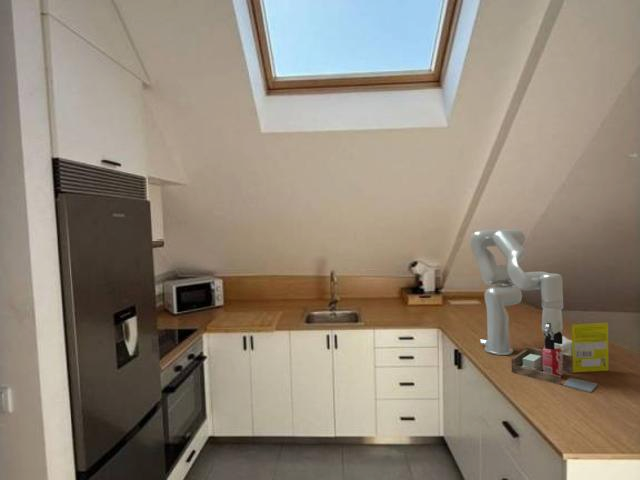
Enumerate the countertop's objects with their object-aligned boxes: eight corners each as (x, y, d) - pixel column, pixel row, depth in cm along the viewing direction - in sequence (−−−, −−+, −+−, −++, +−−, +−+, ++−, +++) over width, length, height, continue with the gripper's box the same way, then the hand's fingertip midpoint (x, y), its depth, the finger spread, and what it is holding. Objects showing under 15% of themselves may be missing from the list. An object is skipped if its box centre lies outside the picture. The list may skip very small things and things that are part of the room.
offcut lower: (521, 373, 160) (521, 366, 160) (530, 367, 166) (529, 360, 166) (534, 376, 156) (534, 369, 156) (542, 370, 162) (542, 363, 162)
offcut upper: (522, 365, 160) (522, 358, 160) (530, 360, 165) (530, 353, 165) (534, 368, 157) (533, 361, 157) (541, 363, 162) (541, 356, 162)
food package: (607, 370, 159) (607, 322, 158) (609, 371, 158) (609, 323, 157) (571, 371, 158) (570, 324, 157) (573, 373, 157) (572, 325, 156)
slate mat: (562, 385, 146) (562, 384, 146) (570, 378, 152) (570, 377, 152) (590, 392, 139) (590, 391, 139) (597, 385, 145) (597, 383, 145)
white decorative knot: (575, 354, 178) (575, 335, 177) (581, 363, 167) (581, 343, 166) (547, 352, 182) (547, 333, 182) (552, 360, 171) (551, 341, 171)
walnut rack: (511, 372, 160) (511, 355, 160) (526, 361, 171) (526, 346, 171) (560, 384, 147) (560, 366, 146) (573, 372, 157) (572, 355, 157)
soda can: (562, 373, 157) (562, 344, 157) (563, 379, 151) (563, 349, 150) (542, 370, 161) (542, 342, 160) (542, 376, 155) (542, 347, 154)
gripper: (549, 300, 163) (551, 339, 163) (534, 306, 151) (535, 349, 152) (569, 301, 157) (571, 343, 158) (555, 308, 146) (557, 353, 146)
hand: (553, 346), depth 155 cm, fingers open, 9 cm apart
